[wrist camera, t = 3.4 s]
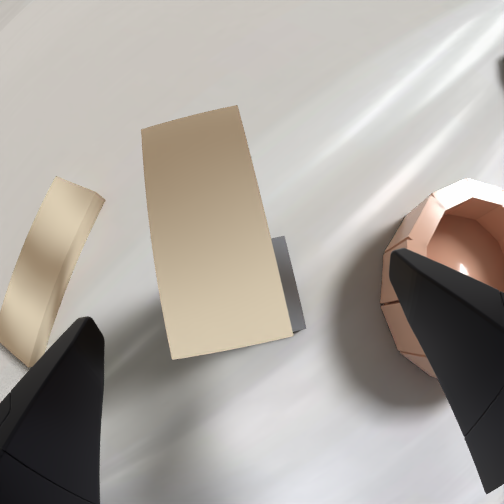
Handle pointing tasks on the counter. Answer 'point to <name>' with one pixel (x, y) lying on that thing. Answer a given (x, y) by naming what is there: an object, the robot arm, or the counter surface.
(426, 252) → the bowl
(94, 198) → the light wooden flat block
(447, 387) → the robot arm
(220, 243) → the wooden pillar
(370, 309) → the counter surface
